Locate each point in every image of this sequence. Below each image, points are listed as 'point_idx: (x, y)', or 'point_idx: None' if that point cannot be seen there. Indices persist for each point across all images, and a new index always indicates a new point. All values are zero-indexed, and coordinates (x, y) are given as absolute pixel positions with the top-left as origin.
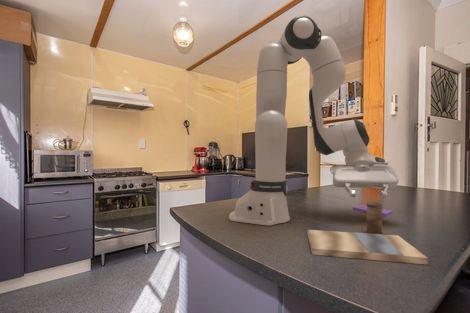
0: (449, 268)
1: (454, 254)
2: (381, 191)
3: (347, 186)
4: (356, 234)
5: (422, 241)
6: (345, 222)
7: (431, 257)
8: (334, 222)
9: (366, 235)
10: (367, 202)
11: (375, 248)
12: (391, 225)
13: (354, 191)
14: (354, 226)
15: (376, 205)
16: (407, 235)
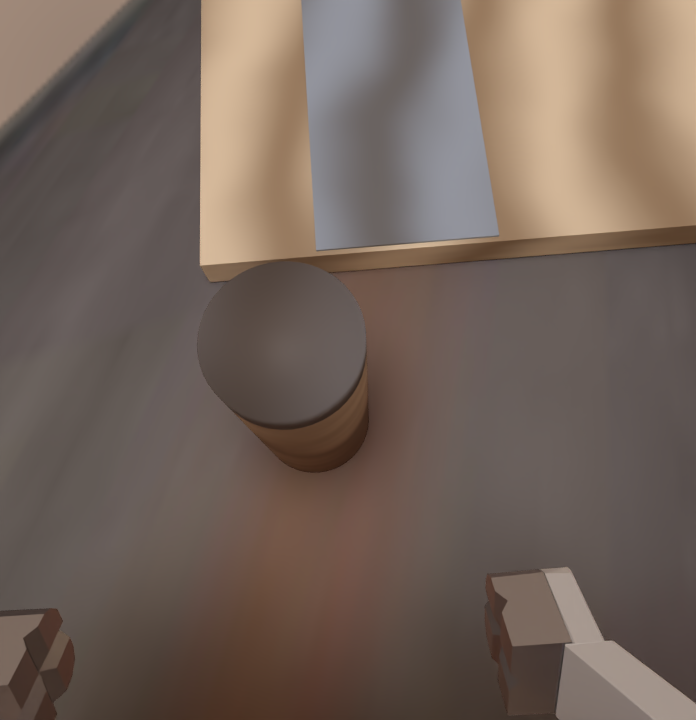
0: (137, 9)
1: (3, 162)
2: (16, 671)
3: (691, 713)
4: (481, 200)
5: (53, 319)
6: None
7: (146, 95)
8: None
9: (417, 199)
10: (354, 366)
11: (413, 17)
12: (86, 701)
13: (515, 614)
14: (442, 557)
15: (283, 265)
16: (88, 422)
